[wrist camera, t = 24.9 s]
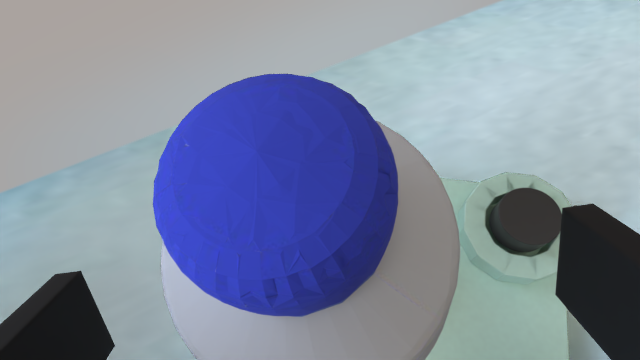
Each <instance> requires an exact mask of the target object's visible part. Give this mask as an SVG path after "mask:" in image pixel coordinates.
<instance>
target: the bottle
mask: <svg viewBox="0 0 640 360" xmlns="http://www.w3.org/2000/svg"><path fill="white" fill-rule="evenodd" d="M153 207H154V214H155V220H156V226H157V228H158V230H159V233H160V235H161V237H162V239H163V241H162V255H161V273H162V282H163V290H164V297H165V300H166V303H167V306H168V308H169V311H170V314H171V317H172V320H173V322H174V325H175V328H176V330H177V331H178V333H179V334H180V336H181V337H182V339H183V341H184V342H185V344H186V345H187V347H188V349H189V350H190V351H191V353H192V354H193V355H194V356H195V357H196V358H197V359H198V360H425V359H426V358H427V356H428V355H429V353H430V352H431V350H432V349H433V347H434V346H435V344H436V342H437V340H438V338H439V336H440V334H441V332H442V330H443V327H444V324H445V321H446V318H447V315H448V312H449V309H450V306H451V303H452V300H453V296H454V293H455V290H456V287H457V281H458V271H459V261H460V240H459V230H458V225H457V221H456V217H455V213H454V209H453V205H452V203H451V201H450V199H449V196H448V194H447V192H446V190H445V187H444V185H443V183H442V181H441V179H440V178H439V176H438V175H437V173H436V172H435V171H434V169H433V168H432V166H431V165H430V163H429V162H428V161H427V160H426V159H425V157H424V156H423V155H422V154H421V153H420V152H419V151H418V150H417V149H416V148H415V147H414V146H412V145H411V144H410V143H409V142H408V141H407V140H406V139H405V138H404V137H403V136H401V135H399V134H398V133H396V132H394V131H393V130H391V129H389V128H388V127H386V126H385V125H383V124H381V123H380V122H377V121H375V120H374V119H373V118H372V116H371V115H370V114H369V112H368V111H367V109H366V108H365V107H364V106H363V105H361V104H360V103H358V102H357V101H356V100H355V98H354V97H353V96H352V95H351V94H349V93H347V92H345V91H343V90H342V89H340V88H338V87H336V86H335V85H333V84H331V83H327V82H323V81H320V80H318V79H315V78H313V77H305V76H298V75H292V74H267V75H261V76H256V77H250V78H247V79H243V80H241V81H238V82H235V83H232V84H229V85H227V86H226V87H224V88H222V89H220V90H218V91H216V92H215V93H212V94H211V95H210V96H208V97H207V98H206V99H204V100H203V101H202V102H200V103H199V104H198V105H196V106H195V107H194V108H193V110H191V111H190V112H189V114H188V115H187V116H186V117H185V118H184V119H183V120H182V121H181V122H180V124H179V125H178V127H177V128H176V130H175V131H174V133H173V134H172V136H171V137H170V139H169V141H168V143H167V146H166V148H165V150H164V152H163V154H162V156H161V158H160V160H159V168H158V172H157V175H156V178H155V180H154V198H153Z"/></svg>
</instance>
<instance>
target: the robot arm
mask: <svg viewBox="0 0 640 360" xmlns="http://www.w3.org/2000/svg"><path fill="white" fill-rule="evenodd" d="M555 295H556V296H557V297H558V298H559V300H560V301H561V302H562V303H563V304H564V305H565V307H566V308H567V309H568V310H569V311H570V312H571V313H572V315H573V316H574V317H575V318H576V319H577V320H578V322H579V323H580V324H581V325H582V326H583V327H584V329H585V330H586V331H587V332H588V333H589V334H590V336H591V337H592V338H593V339H594V340H595V341H596V343H597V344H598V345H599V346H600V347H601V348H602V350H603V351H604V352H605V353H606V354H607V355H608V357H609V358H610V359H611V360H640V234H638V233H637V232H635V231H634V230H632V229H631V228H629V227H627V226H626V225H624V224H623V223H621V222H620V221H618V220H617V219H615V218H614V217H612V216H611V215H609V214H608V213H606V212H605V211H603V210H602V209H600V208H599V207H597V206H596V205H594V204H588V205H580V206H573V207H565V208H562V218H561V230H560V243H559V255H558V267H557V279H556V292H555ZM114 347H115V345H114V343H113V340H112V338H111V336H110V334H109V332H108V329H107V327H106V325H105V323H104V321H103V318H102V316H101V314H100V312H99V310H98V308H97V305H96V303H95V301H94V299H93V297H92V294H91V292H90V290H89V288H88V286H87V283H86V281H85V279H84V277H83V275H82V272H81V271H77V272H69V273H61V274H55V275H54V276H53V277H52V278H51V279H50V280H48V281H47V282H46V283H45V284H44V285H43V286H42V287H41V288H40V289H39V290H38V291H36V292H35V293H34V294H33V295H32V296H31V297H30V298H29V299H28V300H27V301H26V302H24V303H23V304H22V305H21V306H20V307H19V308H18V309H17V310H16V311H15V312H14V313H12V314H11V315H10V316H9V317H8V318H7V319H6V320H5V321H4V322H3V323H2V324H0V360H106V359H107V357H108V356H109V354H110V353H111V351H112V350H113V348H114Z"/></svg>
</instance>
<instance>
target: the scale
mask: <svg viewBox="0 0 640 360" xmlns="http://www.w3.org/2000/svg"><path fill="white" fill-rule="evenodd" d="M440 179H441V181H442V183H443V185H444V187H445V190H446V192H447V194H448V196H449V199H450V201H451V203H452V205H453V209H454V213H455V217H456V221H457V225H458V230H459V240H460V261H459V271H458V281H457V287H456V290H455V293H454V296H453V300H452V303H451V306H450V309H449V312H448V315H447V318H446V321H445V324H444V327H443V330H442V332H441V334H440V336H439V338H438V340H437V342H436V344H435V346H434V347H433V349H432V350H431V352H430V353H429V355H428V356H427V358H426V359H425V360H569V343H568V322H567V308H566V307H565V305H564V304H563V303H562V302H561V301H560V300H559V298H558V297H557V296H556V295H555V292H556V279H557V267H558V255H559V243H560V233H559V235H558V236H557V237H556V238H555V239H554V240H552V241H551V242H549V243H547V244H546V245H544V246H542V247H540V248H539V249H537V250H534V251H531V252H517V251H513V250H511V249H508V248H507V247H505V246H503V245H502V244H501V243H500V242H499V241H498V240H497V239H496V238H495V237H494V235H493V233H492V231H491V228H490V223H489V219H490V214H491V211H492V209H493V208H494V207H495V205H496V204H497V203H498V202H499V201H500V200H501V199H502V198H503V197H504V196H505V195H506V194H507V193H508V192H510V191H512V190H514V189H517V188H533V189H537V190H540V191H542V192H544V193H546V194H547V195H549V196H550V197H551V198H552V199H553V200H554V201H555V202H556V203H557V205H558V206H559V208H560V210H561V213H562V208H565V207H572V206H571V205H570V203H569V202H568V200H567V199H566V197H565V196H564V194H563V193H562V192H561V191H560V190H558V189H557V188H555V187H553V186H552V185H550V184H548V183H547V182H545V181H543V180H542V179H540V178H538V177H537V176H534V175H525V174H516V173H508V172H506V173H502V174H500V175H497V176H494V177H492V178H489V179H486V180H484V181H481V182H480V183H478V182H470V181H461V180H453V179H445V178H440Z"/></svg>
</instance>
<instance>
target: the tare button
mask: <svg viewBox="0 0 640 360" xmlns="http://www.w3.org/2000/svg"><path fill="white" fill-rule="evenodd" d="M561 218H562V213H561V210H560V208H559V206H558V205H557V203H556V202H555V201H554V200H553V199H552V198H551V197H550V196H549V195H547V194H546V193H544V192H542V191H540V190H537V189H533V188H517V189H514V190H512V191H510V192H508V193H507V194H506V195H505V196H504V197H503V198H502V199H501V200H500V201H499V202H498V203H497V204H496V205H495V207H494V208H493V209H492V211H491V214H490V219H489V223H490V228H491V231H492V233H493V235H494V237H495V238H496V239H497V240H498V241H499V242H500V243H501V244H502V245H503V246H505V247H507V248H508V249H511V250H513V251H517V252H531V251H534V250H537V249H539V248H540V247H542V246H544V245H546V244H547V243H549V242H551V241H552V240H554V239H555V238H556V237H557V236H558V235H559V233H560V230H561Z"/></svg>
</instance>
